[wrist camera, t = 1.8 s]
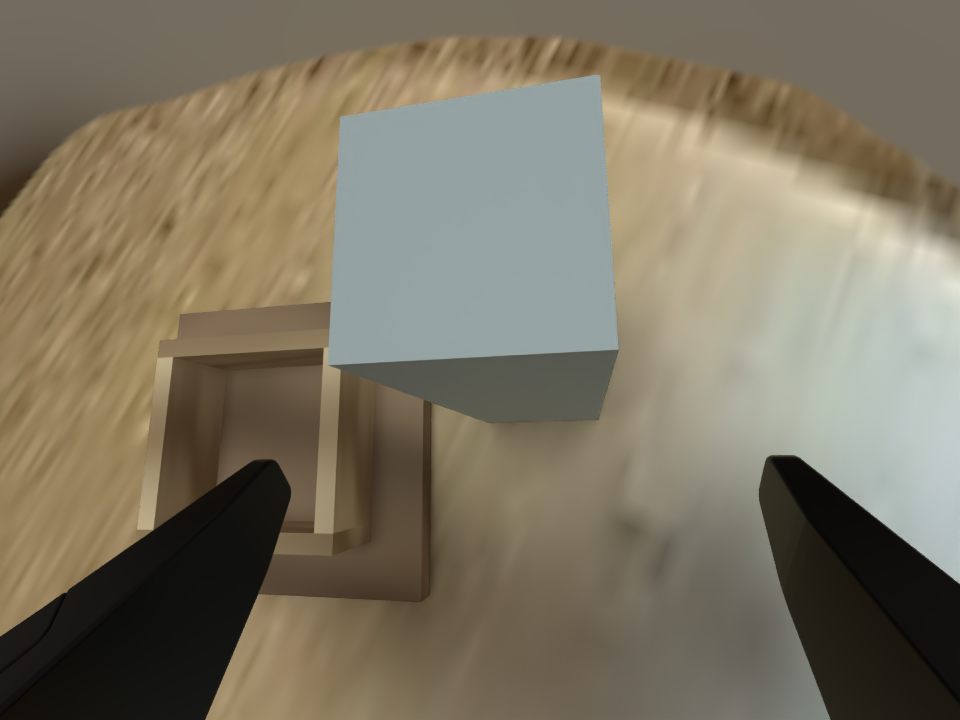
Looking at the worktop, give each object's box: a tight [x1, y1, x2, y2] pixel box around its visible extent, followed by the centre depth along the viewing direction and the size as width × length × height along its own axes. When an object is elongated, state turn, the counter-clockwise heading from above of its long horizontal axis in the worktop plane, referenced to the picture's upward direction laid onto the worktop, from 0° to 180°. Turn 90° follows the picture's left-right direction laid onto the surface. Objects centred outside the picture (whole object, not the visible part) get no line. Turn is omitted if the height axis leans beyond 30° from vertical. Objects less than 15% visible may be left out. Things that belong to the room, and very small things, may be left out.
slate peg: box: [328, 75, 619, 423], centre depth 14 cm, size 4×4×13 cm
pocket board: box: [136, 302, 431, 602], centre depth 20 cm, size 12×12×4 cm
